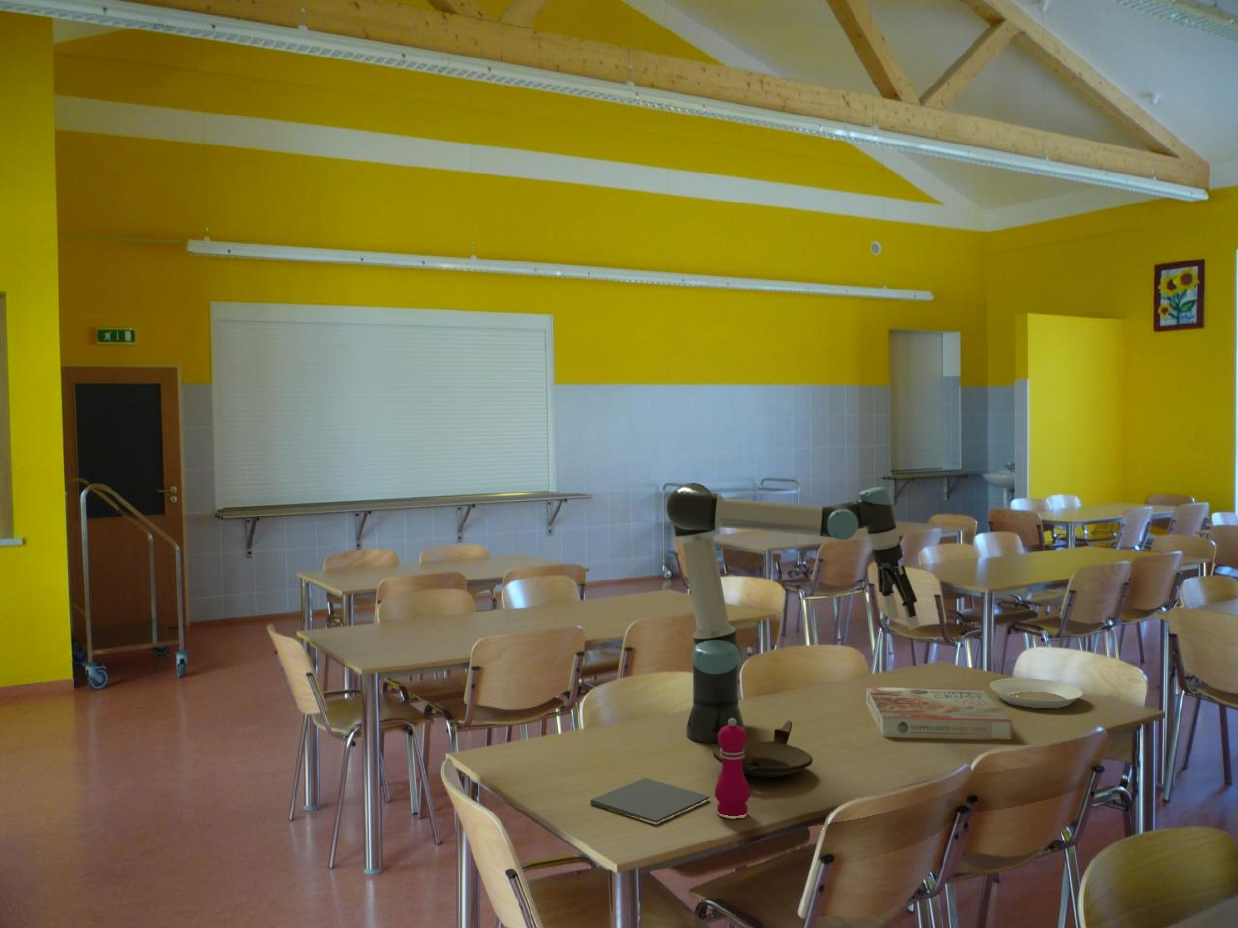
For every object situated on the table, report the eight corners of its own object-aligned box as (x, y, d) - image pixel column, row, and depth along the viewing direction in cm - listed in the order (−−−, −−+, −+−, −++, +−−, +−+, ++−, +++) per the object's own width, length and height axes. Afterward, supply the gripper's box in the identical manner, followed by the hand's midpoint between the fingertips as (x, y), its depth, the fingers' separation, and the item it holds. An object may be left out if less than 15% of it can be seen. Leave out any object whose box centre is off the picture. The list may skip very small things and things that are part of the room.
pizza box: (883, 718, 271) (866, 686, 303) (883, 738, 271) (866, 705, 303) (1012, 721, 268) (981, 689, 300) (1012, 741, 268) (981, 707, 300)
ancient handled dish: (690, 773, 244) (690, 740, 244) (776, 746, 264) (776, 716, 264) (764, 799, 227) (764, 764, 227) (849, 768, 247) (850, 736, 247)
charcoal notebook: (590, 804, 225) (590, 799, 225) (645, 782, 238) (645, 777, 238) (656, 825, 213) (656, 820, 213) (709, 800, 226) (709, 796, 226)
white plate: (971, 693, 314) (971, 681, 313) (1042, 687, 321) (1042, 675, 321) (1027, 716, 290) (1028, 703, 290) (1102, 708, 297) (1102, 695, 297)
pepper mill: (722, 822, 214) (722, 724, 213) (709, 809, 221) (709, 714, 220) (755, 818, 216) (755, 721, 215) (742, 805, 223) (742, 712, 222)
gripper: (918, 547, 266) (936, 628, 268) (881, 537, 291) (899, 611, 292) (890, 555, 265) (909, 636, 267) (856, 544, 290) (873, 618, 292)
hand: (903, 623), depth 280 cm, fingers open, 13 cm apart
